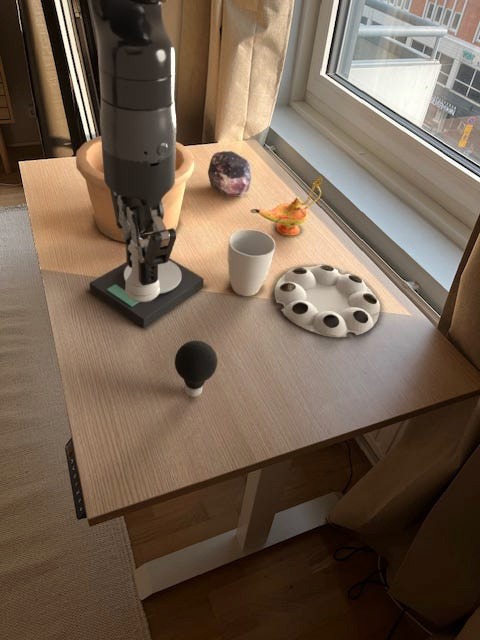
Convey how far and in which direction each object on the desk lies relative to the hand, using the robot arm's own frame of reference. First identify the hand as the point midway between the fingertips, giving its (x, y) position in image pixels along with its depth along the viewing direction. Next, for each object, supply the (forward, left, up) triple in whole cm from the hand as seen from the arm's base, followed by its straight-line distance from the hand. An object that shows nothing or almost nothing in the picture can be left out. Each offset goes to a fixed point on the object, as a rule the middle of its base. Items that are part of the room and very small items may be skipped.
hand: (142, 273), depth 65 cm
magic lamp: (+48, +8, -19) cm, 53 cm away
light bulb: (+2, -8, -19) cm, 21 cm away
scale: (+14, +14, -19) cm, 28 cm away
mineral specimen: (+52, +26, -19) cm, 62 cm away
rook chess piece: (0, 0, -3) cm, 3 cm away
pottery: (+28, +31, -19) cm, 46 cm away
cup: (+27, +2, -19) cm, 34 cm away
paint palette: (+35, -11, -19) cm, 42 cm away
